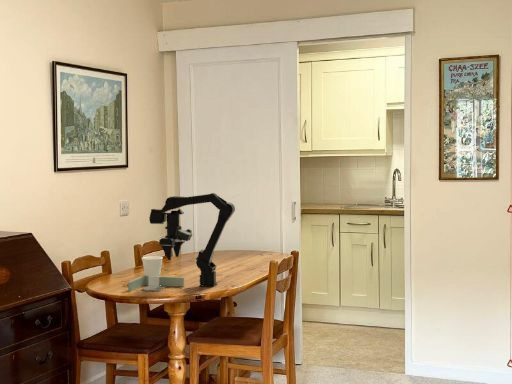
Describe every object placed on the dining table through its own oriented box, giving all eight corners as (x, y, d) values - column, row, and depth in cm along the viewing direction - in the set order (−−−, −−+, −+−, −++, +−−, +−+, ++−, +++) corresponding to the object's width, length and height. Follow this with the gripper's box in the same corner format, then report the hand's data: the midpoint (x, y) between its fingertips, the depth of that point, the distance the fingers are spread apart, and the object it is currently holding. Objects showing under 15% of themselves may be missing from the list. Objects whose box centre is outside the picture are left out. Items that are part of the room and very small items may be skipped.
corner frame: (184, 286, 303) (184, 277, 303) (170, 293, 288) (170, 284, 287) (143, 284, 308) (143, 275, 308) (128, 291, 293) (128, 281, 292)
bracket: (149, 287, 299) (149, 276, 299) (160, 287, 298) (159, 276, 298) (143, 289, 294) (143, 278, 293) (154, 290, 292) (154, 279, 292)
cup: (147, 283, 309) (147, 260, 309) (138, 280, 317) (137, 257, 317) (167, 281, 315) (166, 258, 314) (157, 278, 323) (156, 255, 322)
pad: (167, 286, 302) (167, 285, 302) (157, 291, 292) (157, 290, 292) (150, 285, 305) (150, 285, 305) (140, 290, 294) (140, 289, 294)
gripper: (182, 226, 294) (182, 262, 295) (196, 222, 312) (197, 256, 313) (158, 226, 297) (158, 261, 298) (174, 222, 315) (174, 255, 316)
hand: (173, 258), depth 306 cm, fingers open, 9 cm apart
